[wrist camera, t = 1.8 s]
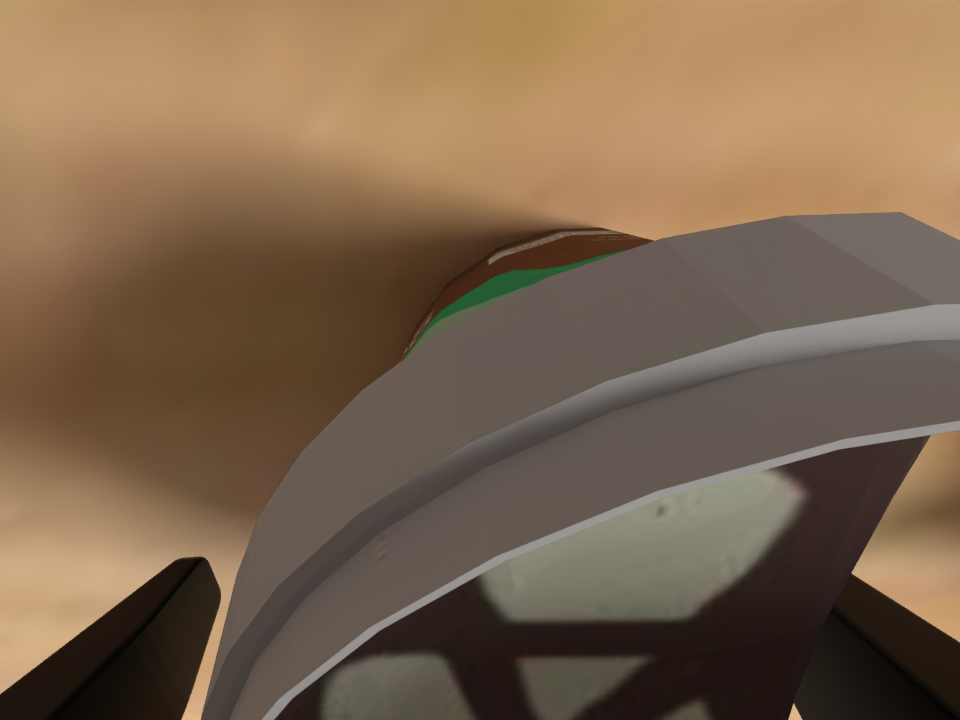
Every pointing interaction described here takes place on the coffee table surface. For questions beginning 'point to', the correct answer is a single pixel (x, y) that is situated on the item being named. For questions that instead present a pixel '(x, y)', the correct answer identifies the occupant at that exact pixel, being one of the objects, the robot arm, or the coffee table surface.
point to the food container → (603, 481)
